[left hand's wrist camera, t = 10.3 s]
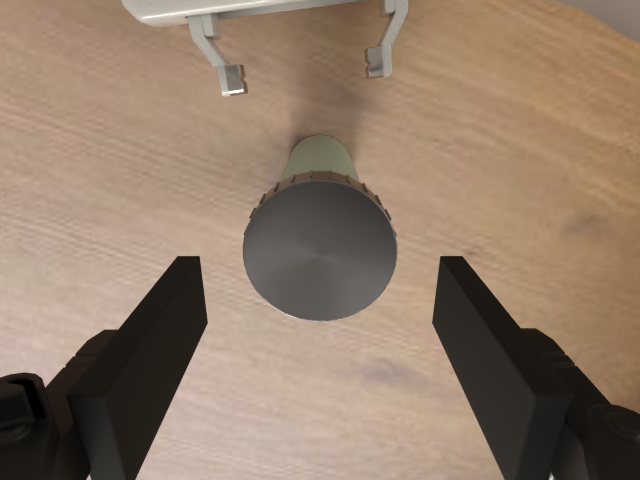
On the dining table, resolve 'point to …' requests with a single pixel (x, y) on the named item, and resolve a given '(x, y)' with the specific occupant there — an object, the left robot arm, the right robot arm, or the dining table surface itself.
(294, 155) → the jar
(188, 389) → the dining table surface
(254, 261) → the lid
